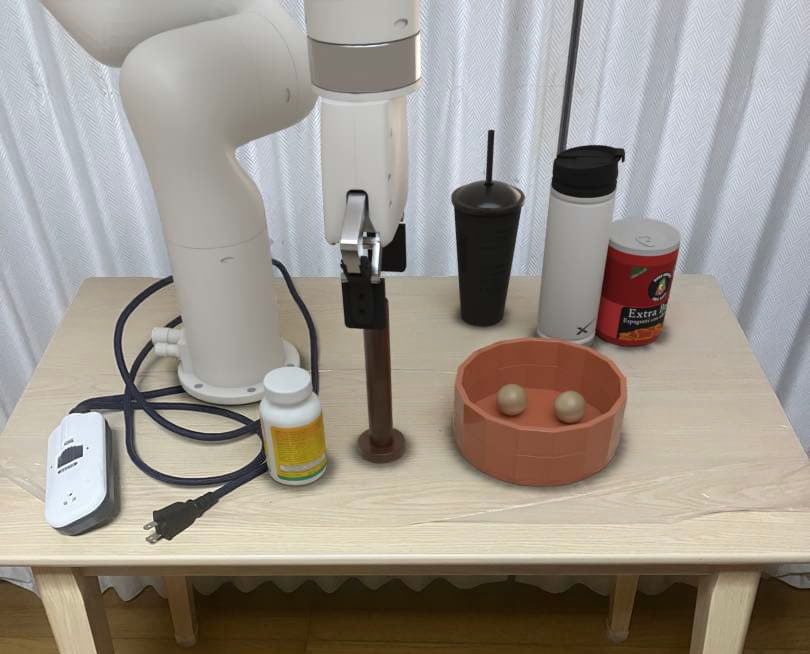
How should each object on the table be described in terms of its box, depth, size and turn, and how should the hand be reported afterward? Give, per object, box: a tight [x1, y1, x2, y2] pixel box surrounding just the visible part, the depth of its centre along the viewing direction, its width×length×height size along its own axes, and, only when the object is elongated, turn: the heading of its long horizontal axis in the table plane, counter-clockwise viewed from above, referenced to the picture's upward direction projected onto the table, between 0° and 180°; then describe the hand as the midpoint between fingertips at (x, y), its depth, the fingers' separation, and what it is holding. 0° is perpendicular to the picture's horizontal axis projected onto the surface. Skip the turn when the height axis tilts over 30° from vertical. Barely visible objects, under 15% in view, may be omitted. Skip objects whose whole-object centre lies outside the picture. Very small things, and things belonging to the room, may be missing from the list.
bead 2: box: [554, 391, 586, 423], centre depth 81 cm, size 3×3×3 cm
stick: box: [357, 297, 406, 464], centre depth 75 cm, size 4×4×15 cm
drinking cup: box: [450, 129, 526, 327], centre depth 91 cm, size 8×8×20 cm
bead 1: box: [496, 384, 528, 416], centre depth 82 cm, size 3×3×3 cm
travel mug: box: [535, 144, 626, 348], centre depth 87 cm, size 6×7×20 cm
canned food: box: [595, 217, 682, 347], centre depth 92 cm, size 8×8×11 cm
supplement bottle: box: [258, 367, 328, 486], centre depth 75 cm, size 5×5×10 cm
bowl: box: [453, 336, 628, 487], centre depth 79 cm, size 15×15×6 cm
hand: (377, 297), depth 70 cm, fingers open, 9 cm apart
